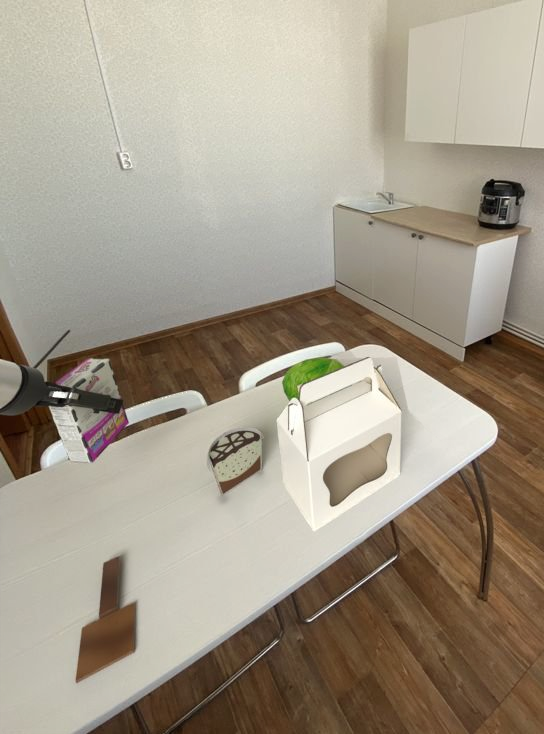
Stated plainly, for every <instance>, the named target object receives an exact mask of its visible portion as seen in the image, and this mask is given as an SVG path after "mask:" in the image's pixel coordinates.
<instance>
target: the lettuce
mask: <svg viewBox="0 0 544 734" xmlns="http://www.w3.org/2000/svg"><path fill="white" fill-rule="evenodd" d="M344 366H345V365H343V363H341V362H340V361H339V360H338V359H337V358H330V357H322V356H319V357H313V358H306V359H303V360H301V361H300V362H297V363H295V364H294V365H293V366H291V367H290V369H288V370H287V371H286V372H285V374H284V377H283V379H282V380H281V384H282V388H283V392H284V394H285V396H286V398H287V400H288V401H289V402H290V401H291V399H292V398H298V399H299V393H298V390H297V386H298V385H300V384H303V383H305V382H307V381H310V380H312V379H315V378H317V377H320V376H322V375H325V374H327V373H329V372H332V371H334V370H337V369H339V368H342V367H344ZM352 385H353V384H352ZM352 385H350V386H352ZM350 386H347V387H350ZM347 387H345V388H347ZM345 388H343V389H345ZM343 389H341V390H343ZM341 390H338V391H341ZM338 391H336V392H338ZM336 392H334V393H336ZM334 393H332V394H334ZM332 394H329V395H332ZM329 395H327V396H329ZM327 396H325V397H327ZM325 397H323V398H325ZM323 398H320V399H318V400H321V399H323ZM318 400H316V401H318ZM316 401H314V402H316ZM314 402H311V403H310V404H312V403H314ZM307 405H309V404H307ZM307 405H306V406H307Z"/></svg>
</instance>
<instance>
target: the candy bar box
mask: <svg viewBox="0 0 544 734" xmlns="http://www.w3.org/2000/svg"><path fill="white" fill-rule="evenodd" d="M55 383H56V384H57V385H61V386H66V387H70V388H73V387H76V388H77V389H80V390H84V391H89V392H94V393H99V394H103V395H109V396H111V398H116V399H121V400H123V399H122V396H121V393H120V389H119V387H118V383H117V380H116V376H115V373H114V371H113V367H112V364H111V361H110V358H93V357H91V358H90V357H89V358H86V359H85V360H84V361H83V362H81V363H80V364H79V365H78V366H76V367H75V368H73V369H71V370H70V371H69V372H67V373H66V374H65V375H63V376H62V377H61V378H60V379H58V380H57V381H56V382H55ZM60 390H61V389H60ZM61 391H62V390H61ZM47 408H48V410H49V412H50V414H51V417H52V419H53V422H54V424H55V427H56V429H57V433H58V435H59V437H60V439H61V442H62V445H63V447H64V450H65V452H66V455H67V457H68V460H69V462H70V463H71V462H72V463H83V464H84V463H85V464H93V463H94V462H95V461H96V460H97V459H98V458H99V456H100V455H101V454H102V453H103V452H104V451H105V450H106V449H107V448H108V447H109V445H110V444H112V442H113V441H114V440H115V439H116V438H117V437H118V436H119V434H121V433H122V431H123V430H124V429H125V428H126V427H127V426H128V425H129V423H130V421H129V419H128V416H127V412H126V409H125V406H124V403H122V406H121V409H120V412H119V414H116V413H109V412H103V411H100V412H99V414H96V413H93V412H94V410H93V409H91V408H83V407H76V406H69V405H66V406H64V407H52V406H48V407H47Z"/></svg>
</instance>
